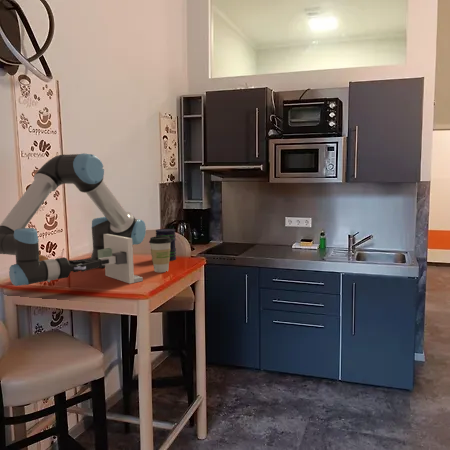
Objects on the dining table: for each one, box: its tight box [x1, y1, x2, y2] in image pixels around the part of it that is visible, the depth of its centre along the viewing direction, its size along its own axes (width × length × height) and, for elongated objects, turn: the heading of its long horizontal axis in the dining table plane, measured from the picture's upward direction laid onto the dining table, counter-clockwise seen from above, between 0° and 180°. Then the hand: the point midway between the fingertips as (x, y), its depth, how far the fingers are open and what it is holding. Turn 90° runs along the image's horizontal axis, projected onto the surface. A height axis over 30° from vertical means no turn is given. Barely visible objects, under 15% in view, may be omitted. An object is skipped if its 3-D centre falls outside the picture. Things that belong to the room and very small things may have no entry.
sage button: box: [98, 248, 112, 259], centre depth 197 cm, size 4×6×4 cm, turn 132°
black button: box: [112, 252, 127, 265], centre depth 188 cm, size 4×6×4 cm, turn 132°
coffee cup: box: [148, 236, 171, 273], centre depth 208 cm, size 10×10×15 cm
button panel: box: [103, 234, 144, 284], centre depth 195 cm, size 20×6×18 cm, turn 42°
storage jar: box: [155, 228, 177, 262], centre depth 234 cm, size 10×10×15 cm
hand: (114, 259), depth 185 cm, fingers closed
